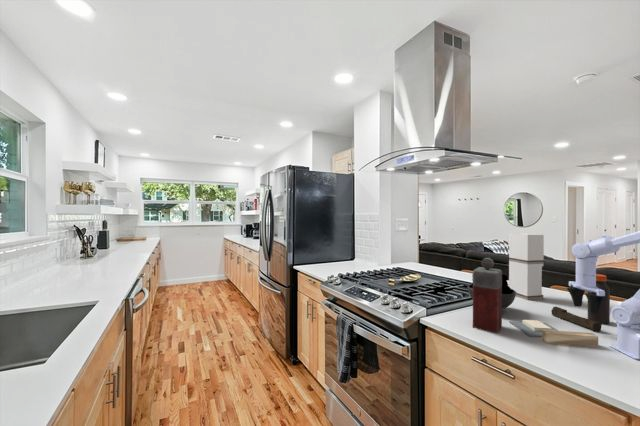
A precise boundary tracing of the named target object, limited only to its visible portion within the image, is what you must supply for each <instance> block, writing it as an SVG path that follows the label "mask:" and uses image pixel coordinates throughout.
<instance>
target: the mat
mask: <svg viewBox="0 0 640 426" xmlns="http://www.w3.org/2000/svg"><path fill="white" fill-rule="evenodd" d="M509 323H510V324H511V325H512V326H514V327H515V328H517V329H518V330H520V332H522V333H524V334H525V335H526V336H528V337H530V338H531V337H532V338H541V337H542V332H538V331H533V330H532V329H530V328H529V327H527V326H526V325H524V324H523V323H522V321H518V320H509ZM542 323H543V324H545V325H547V326H548V327H550V328H551V330H557V331H560V330H559V329H557V328H555V327H553V326H551V324H549V323H547V322H542Z"/></svg>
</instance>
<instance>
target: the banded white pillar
mask: <svg viewBox="0 0 640 426" xmlns="http://www.w3.org/2000/svg"><path fill="white" fill-rule="evenodd" d="M544 235H545V234H538V233H524V232H523V233H521V234H520V233H511V232H509V235H508V237H509V238H508V239H509V241H508V243H509V244H508V246H509V247H508V250H509V251H508V257H509V258H508V260H509V261H508V286H509V287H510V288H511V289H513V290H515V291H516V296H515V297H517V298H521V299H524V300H526V301H532V300H534V301H535V300H544V294H543V292H542V291H543V287H542V282H543V279H542V278H543V277H542V276H543V273H542V272H543V270H542V269H543V267H544V261H545V260H544V259H545V258H544V255H545V253H544V252H545V251H544V250H545V249H544V245H545V244H544V243H545V240H544Z"/></svg>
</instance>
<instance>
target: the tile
mask: <svg viewBox="0 0 640 426" xmlns="http://www.w3.org/2000/svg"><path fill="white" fill-rule="evenodd" d="M521 322H522V323H523V324H524V325H526V326H527V327H529V328H530V329H532V330H533V331H538V332H542V329H543V330H551V328H550V327H548V326H547V325H545V324H543V323H544V322H541V321H540V320H536V319H535V320H533V319H522V320H521Z"/></svg>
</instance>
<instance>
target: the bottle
mask: <svg viewBox="0 0 640 426" xmlns="http://www.w3.org/2000/svg"><path fill="white" fill-rule="evenodd" d="M607 277H608V276H607V275H605V274H600V273H596V287H597V288H599V289H601V290H604V291H605V296H606V299H605V300H604V301H603V302H602V304H601V306H600V308H599V311H598V313H590V311H589V303H588V302H587V319H589V320H591V321H594V322H599V323H601V325H609V324H610V321H611V320H610V318H611V317H610V316H611V309H610V308H611V305H610V302H611V298H610V297H611V296H610V294H611V293H610V292H611V291H610V290H611V289H610V287H609V286H608V284H606V283H607V279H608V278H607ZM587 294H592V293H590V292H587Z"/></svg>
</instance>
